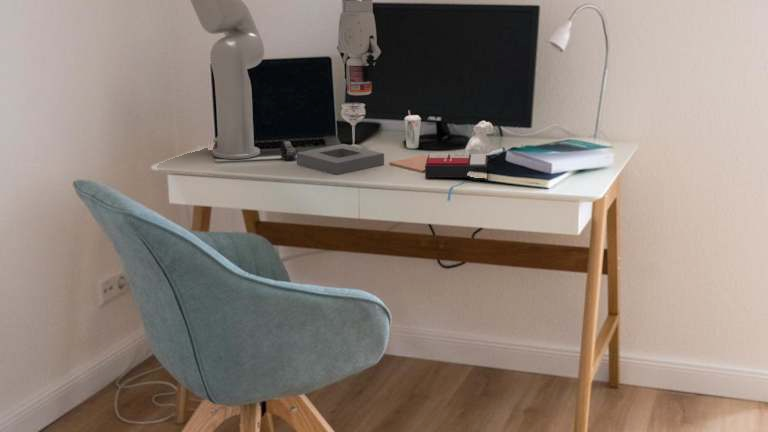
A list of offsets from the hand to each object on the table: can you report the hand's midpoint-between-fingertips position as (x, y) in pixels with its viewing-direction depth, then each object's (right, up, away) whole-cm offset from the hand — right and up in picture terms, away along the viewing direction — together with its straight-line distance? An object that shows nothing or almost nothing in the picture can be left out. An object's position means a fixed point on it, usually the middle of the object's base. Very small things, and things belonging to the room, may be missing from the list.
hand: (359, 79), depth 243 cm
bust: (+31, -19, +13) cm, 39 cm away
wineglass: (-2, -15, +26) cm, 30 cm away
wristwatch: (-19, -20, +13) cm, 30 cm away
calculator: (+24, -24, -4) cm, 34 cm away
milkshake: (+14, -15, +26) cm, 34 cm away
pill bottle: (0, -4, +1) cm, 4 cm away
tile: (+16, -21, +6) cm, 27 cm away
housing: (-5, -21, +7) cm, 23 cm away
